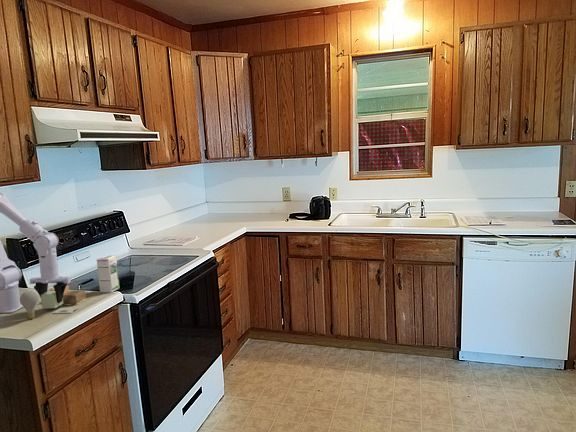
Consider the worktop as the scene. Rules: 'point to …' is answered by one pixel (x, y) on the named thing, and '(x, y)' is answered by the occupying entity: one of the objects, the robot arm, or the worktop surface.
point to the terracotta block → (64, 290)
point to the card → (63, 310)
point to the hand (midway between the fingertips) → (52, 302)
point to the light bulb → (29, 302)
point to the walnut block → (73, 297)
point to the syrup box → (108, 273)
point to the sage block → (50, 300)
